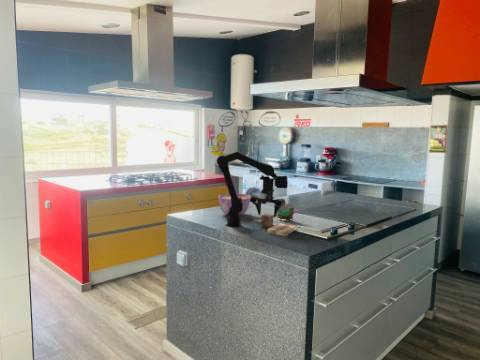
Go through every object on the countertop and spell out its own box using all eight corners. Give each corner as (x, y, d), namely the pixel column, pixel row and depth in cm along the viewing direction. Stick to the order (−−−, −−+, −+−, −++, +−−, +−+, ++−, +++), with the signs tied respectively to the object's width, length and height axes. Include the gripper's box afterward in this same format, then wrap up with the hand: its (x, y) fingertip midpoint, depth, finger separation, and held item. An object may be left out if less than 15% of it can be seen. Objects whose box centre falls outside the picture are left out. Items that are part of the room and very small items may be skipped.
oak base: (267, 233, 190) (267, 229, 189) (278, 226, 202) (278, 223, 202) (285, 236, 185) (285, 232, 185) (295, 229, 197) (295, 226, 197)
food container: (271, 219, 219) (271, 202, 217) (277, 217, 223) (278, 201, 222) (287, 223, 210) (288, 205, 209) (294, 221, 215) (295, 204, 213)
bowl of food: (217, 218, 217) (217, 199, 215) (218, 211, 237) (218, 193, 235) (251, 219, 218) (252, 199, 216) (249, 211, 237) (249, 193, 236)
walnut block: (260, 226, 202) (261, 215, 201) (264, 224, 206) (265, 214, 206) (269, 227, 200) (269, 217, 199) (273, 225, 204) (273, 215, 203)
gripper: (245, 188, 198) (244, 216, 200) (277, 191, 188) (276, 221, 191) (255, 185, 207) (254, 212, 209) (286, 188, 198) (285, 217, 200)
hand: (267, 216), depth 202 cm, fingers open, 9 cm apart
